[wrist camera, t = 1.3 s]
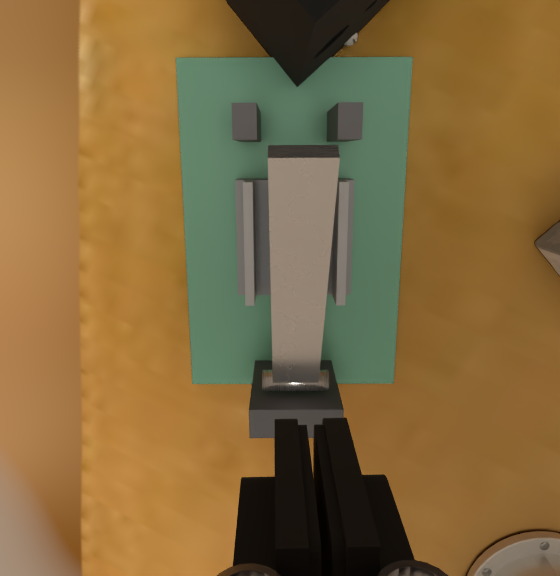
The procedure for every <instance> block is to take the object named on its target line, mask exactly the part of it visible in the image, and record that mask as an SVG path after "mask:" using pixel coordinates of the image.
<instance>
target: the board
mask: <svg viewBox="0 0 560 576" xmlns="http://www.w3.org/2000/svg"><path fill="white" fill-rule="evenodd" d="M412 60H413V57H330V58H329V59H328V60H327V61H326V62H324V63H323V64H322V65H321V66H320V67H319V68H318V69H317V70H316V71H315V72H314V73H312V74H311V75H310V76H309V77H308V78H307V79H306V80H305V81H304V82H303V83H301V84H300V85H299V86H298V87H296V85H295V84H294V83H293V82H292V80H291V79H290V78H289V77H288V75H287V74H286V73H285V72H284V70H283V69H282V68H281V67H280V65H279V64H278V63H277V62H276V60H275V59H274V58H273V57H226V58H176V70H177V90H178V110H179V129H180V149H181V168H182V188H183V208H184V227H185V247H186V267H187V286H188V306H189V325H190V345H191V365H192V384H252V389H251V398H250V406H249V432H250V438H275V419H297V420H298V425H307V431H308V438H314V425H317V424H322V420H323V418H343V412H344V409H343V405H342V401H341V397H340V393H339V389H338V385H337V384H361V383H394V369H395V352H396V334H397V317H398V300H399V283H400V266H401V249H402V232H403V215H404V197H405V180H406V163H407V146H408V129H409V112H410V95H411V77H412ZM268 145H338V148H339V155H340V162H339V173H338V183H337V194H336V204H335V215H334V225H333V236H332V246H331V257H330V267H329V278H328V288H327V299H326V309H325V320H324V330H323V341H322V351H321V362H320V370H328V371H329V391H262V370H273V367H272V323H271V280H270V236H269V192H268Z"/></svg>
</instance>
